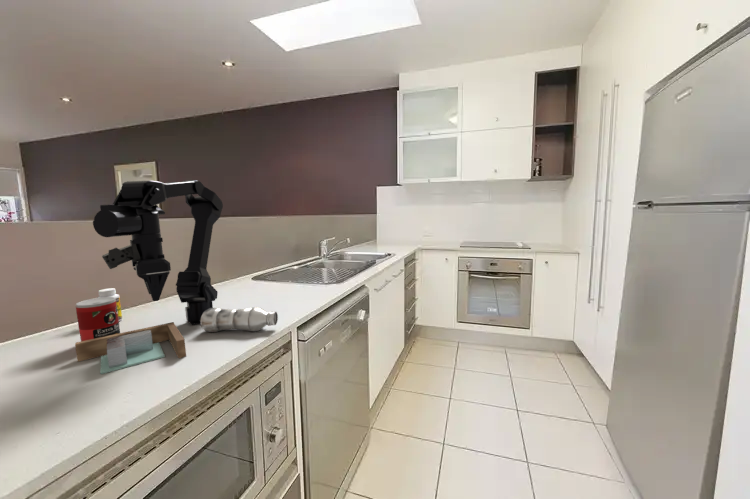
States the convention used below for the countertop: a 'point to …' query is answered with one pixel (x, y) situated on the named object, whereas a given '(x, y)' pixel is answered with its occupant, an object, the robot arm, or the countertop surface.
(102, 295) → the supplement bottle
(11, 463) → the countertop surface
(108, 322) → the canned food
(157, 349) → the pad
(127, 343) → the bracket
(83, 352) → the wooden corner wall
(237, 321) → the plastic bottle
